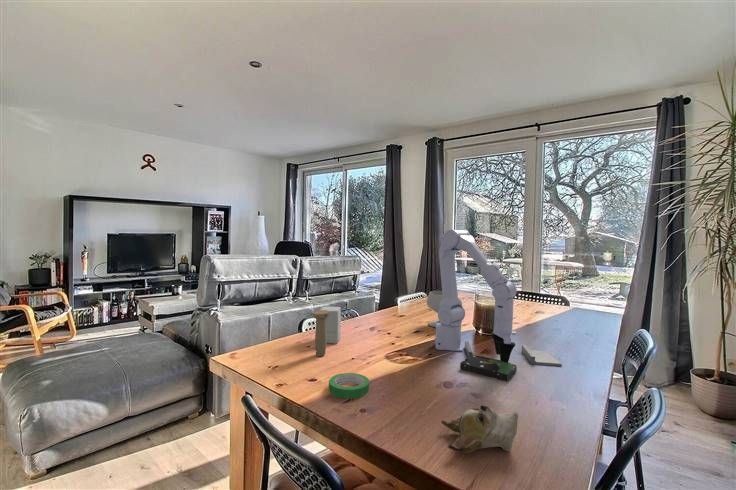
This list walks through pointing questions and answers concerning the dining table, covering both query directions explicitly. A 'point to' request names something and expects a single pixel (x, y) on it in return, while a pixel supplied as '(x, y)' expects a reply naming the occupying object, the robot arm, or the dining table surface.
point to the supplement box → (333, 324)
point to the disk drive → (488, 367)
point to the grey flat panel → (530, 356)
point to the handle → (320, 331)
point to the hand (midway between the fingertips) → (501, 358)
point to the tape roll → (349, 391)
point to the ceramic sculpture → (483, 430)
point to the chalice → (434, 303)
